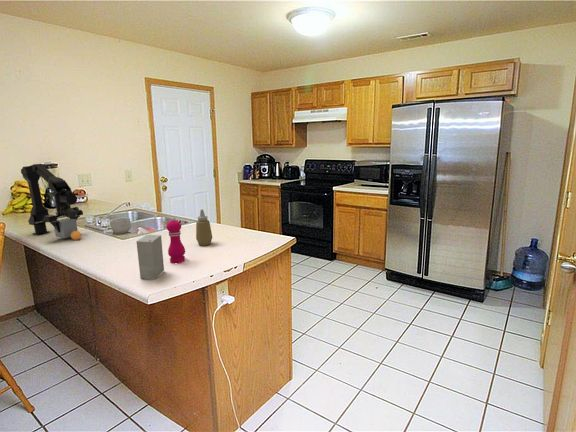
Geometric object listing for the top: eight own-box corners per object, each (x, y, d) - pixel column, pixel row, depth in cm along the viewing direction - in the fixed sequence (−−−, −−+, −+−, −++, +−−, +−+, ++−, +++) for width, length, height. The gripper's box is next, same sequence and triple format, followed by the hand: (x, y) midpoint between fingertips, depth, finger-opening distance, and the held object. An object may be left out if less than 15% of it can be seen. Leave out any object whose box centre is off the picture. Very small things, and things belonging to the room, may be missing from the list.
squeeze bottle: (198, 247, 168) (195, 212, 164) (195, 243, 175) (191, 209, 171) (214, 245, 171) (212, 210, 167) (210, 240, 178) (207, 207, 174)
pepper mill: (171, 258, 153) (166, 215, 149) (187, 257, 154) (183, 214, 149) (167, 264, 146) (162, 219, 142) (184, 263, 147) (179, 218, 142)
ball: (74, 234, 183) (74, 242, 185) (83, 231, 187) (83, 239, 189) (68, 230, 184) (68, 238, 186) (77, 228, 189) (77, 236, 191)
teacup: (123, 235, 194) (121, 221, 192) (107, 234, 196) (105, 221, 194) (138, 228, 207) (137, 216, 205) (123, 228, 209) (121, 215, 207)
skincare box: (149, 271, 140) (145, 234, 136) (166, 271, 139) (162, 234, 135) (139, 279, 131) (133, 240, 128) (156, 279, 131) (152, 240, 127)
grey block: (55, 236, 188) (53, 221, 186) (69, 232, 195) (66, 218, 193) (64, 238, 185) (61, 222, 183) (78, 234, 192) (75, 219, 190)
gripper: (53, 207, 174) (58, 236, 178) (87, 200, 191) (91, 227, 194) (39, 206, 179) (45, 234, 183) (74, 199, 195) (78, 226, 199)
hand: (66, 230), depth 189 cm, fingers closed on grey block, 8 cm apart
